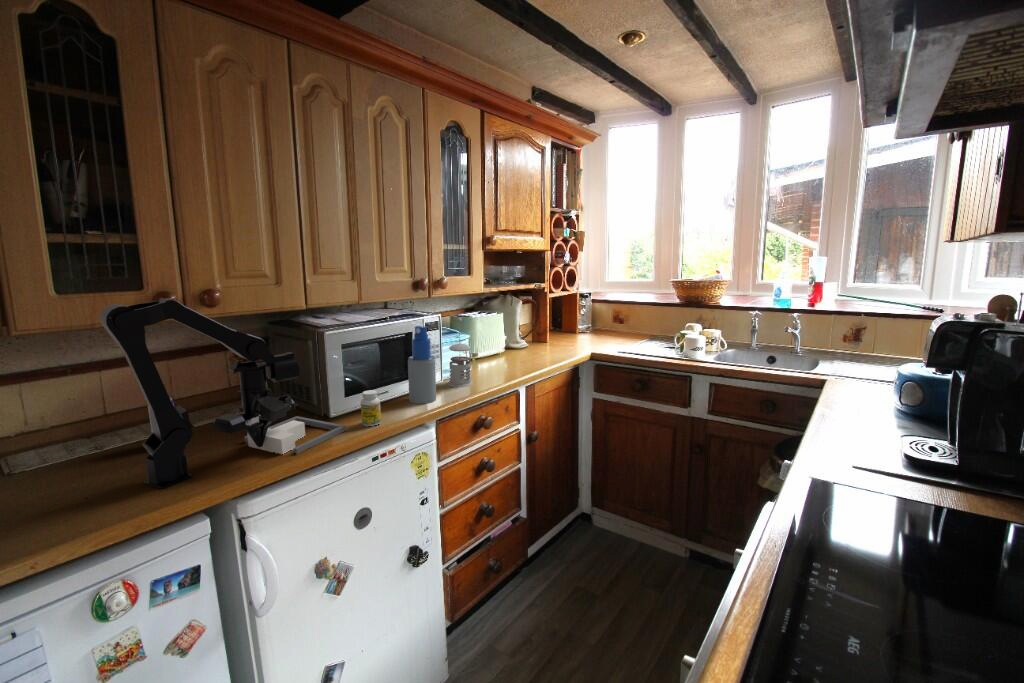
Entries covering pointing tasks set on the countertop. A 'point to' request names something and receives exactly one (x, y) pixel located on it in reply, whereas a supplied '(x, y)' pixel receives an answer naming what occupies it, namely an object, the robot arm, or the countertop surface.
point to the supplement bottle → (370, 408)
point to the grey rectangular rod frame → (316, 423)
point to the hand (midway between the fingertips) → (260, 446)
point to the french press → (460, 366)
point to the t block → (281, 437)
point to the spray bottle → (421, 369)
